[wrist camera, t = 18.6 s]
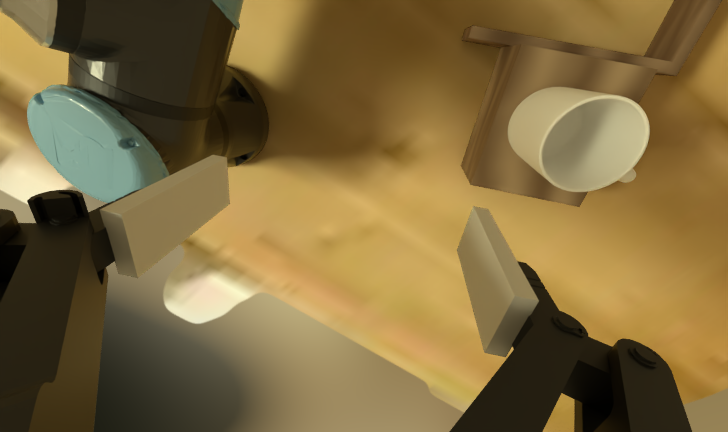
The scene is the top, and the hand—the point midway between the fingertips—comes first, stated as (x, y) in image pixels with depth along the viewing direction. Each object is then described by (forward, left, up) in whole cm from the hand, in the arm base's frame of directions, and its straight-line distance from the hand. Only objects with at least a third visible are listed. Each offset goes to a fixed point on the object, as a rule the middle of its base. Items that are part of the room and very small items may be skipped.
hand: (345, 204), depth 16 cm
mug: (+20, +3, -24) cm, 31 cm away
